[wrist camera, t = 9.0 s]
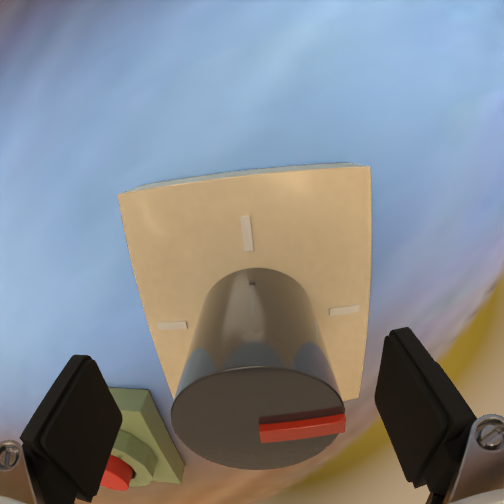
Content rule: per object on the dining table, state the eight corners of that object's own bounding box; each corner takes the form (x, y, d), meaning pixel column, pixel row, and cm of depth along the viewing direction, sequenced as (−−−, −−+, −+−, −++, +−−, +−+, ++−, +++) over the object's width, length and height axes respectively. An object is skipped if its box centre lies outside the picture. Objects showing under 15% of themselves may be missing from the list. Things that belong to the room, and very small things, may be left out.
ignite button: (81, 444, 16) (73, 461, 15) (122, 452, 16) (115, 471, 15) (101, 469, 18) (95, 485, 16) (140, 477, 17) (135, 494, 16)
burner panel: (141, 184, 14) (115, 195, 11) (348, 162, 14) (372, 166, 11) (187, 379, 18) (178, 414, 15) (346, 365, 18) (359, 400, 15)
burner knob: (212, 365, 14) (193, 478, 8) (191, 274, 12) (143, 379, 6) (314, 355, 14) (340, 467, 8) (310, 260, 12) (354, 361, 6)
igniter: (60, 381, 19) (37, 414, 15) (148, 389, 19) (132, 432, 15) (107, 455, 22) (95, 486, 18) (185, 464, 22) (178, 500, 18)
